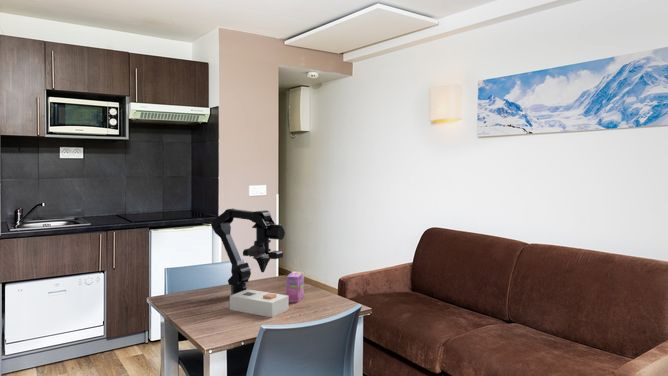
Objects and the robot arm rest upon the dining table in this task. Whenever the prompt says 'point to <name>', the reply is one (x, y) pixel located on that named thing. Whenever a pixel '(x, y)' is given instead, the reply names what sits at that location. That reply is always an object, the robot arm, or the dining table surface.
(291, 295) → the box
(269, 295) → the peach square block
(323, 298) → the dining table surface
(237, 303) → the white rectangular block
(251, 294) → the metallic grey block
